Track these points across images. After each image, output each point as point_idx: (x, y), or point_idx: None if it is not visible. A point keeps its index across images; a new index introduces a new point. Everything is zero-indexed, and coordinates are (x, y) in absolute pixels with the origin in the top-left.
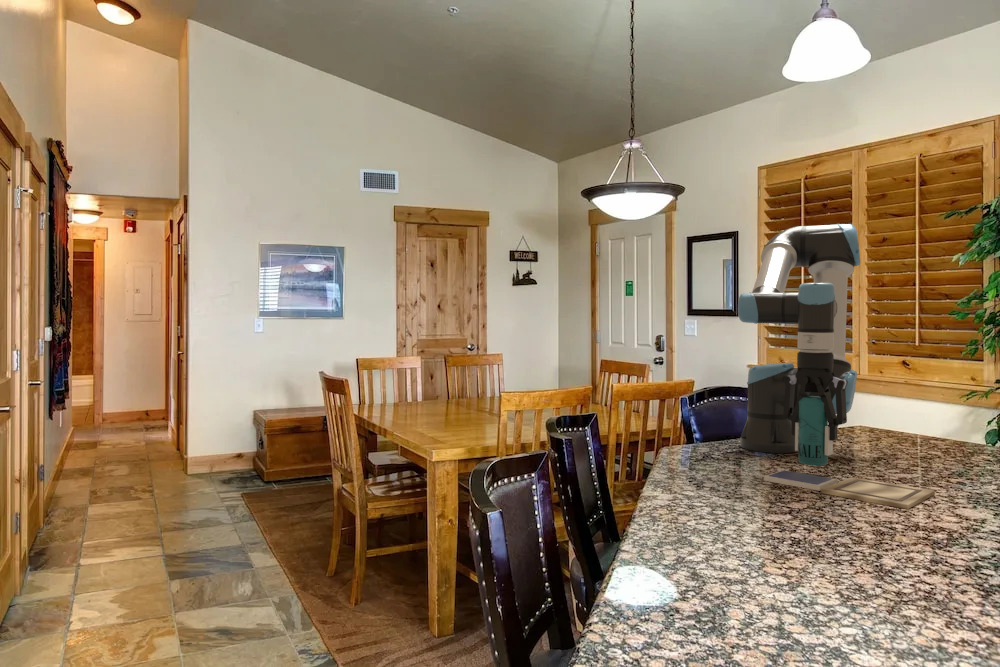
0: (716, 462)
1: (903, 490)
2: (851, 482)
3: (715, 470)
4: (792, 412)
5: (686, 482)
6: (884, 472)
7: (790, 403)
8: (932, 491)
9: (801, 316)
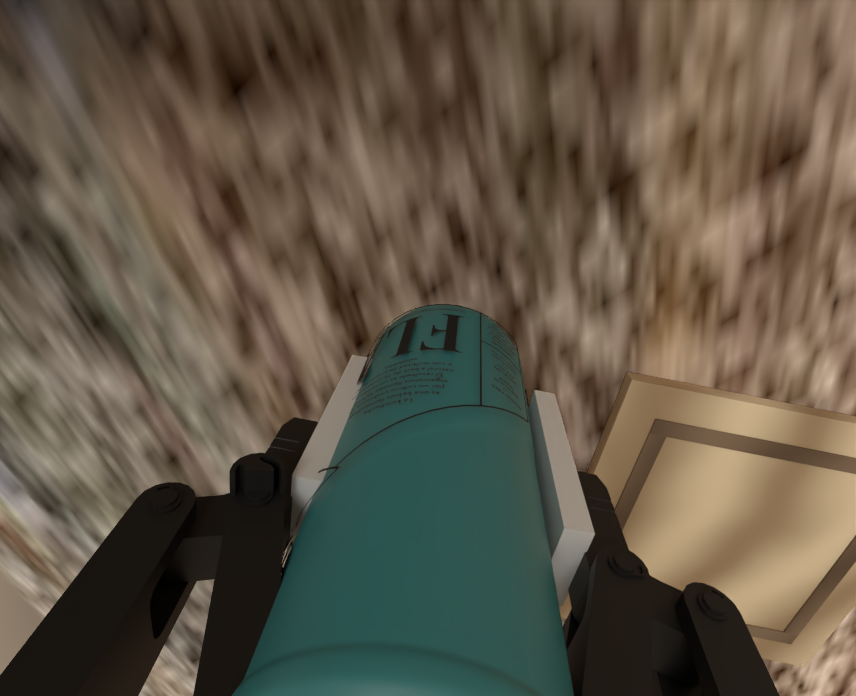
0: (15, 340)
1: (836, 506)
2: (633, 488)
3: (118, 483)
4: (179, 536)
5: (166, 654)
6: (832, 2)
7: (123, 693)
8: None
9: None
